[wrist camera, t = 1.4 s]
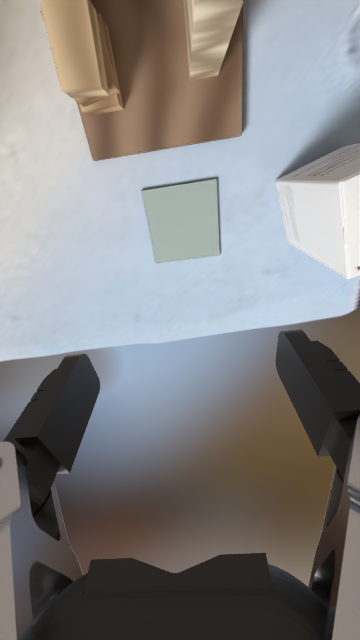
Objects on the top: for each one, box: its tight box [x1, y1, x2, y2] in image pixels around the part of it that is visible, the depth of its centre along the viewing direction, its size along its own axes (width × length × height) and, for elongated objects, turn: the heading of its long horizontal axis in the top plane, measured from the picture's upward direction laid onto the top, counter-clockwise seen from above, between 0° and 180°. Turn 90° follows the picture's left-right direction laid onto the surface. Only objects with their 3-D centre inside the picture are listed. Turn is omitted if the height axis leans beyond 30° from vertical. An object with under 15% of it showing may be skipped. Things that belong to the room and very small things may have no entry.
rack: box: [77, 0, 243, 161], centre depth 17 cm, size 18×14×17 cm
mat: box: [141, 179, 220, 263], centre depth 33 cm, size 10×10×1 cm
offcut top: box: [40, 0, 109, 98], centre depth 19 cm, size 4×5×2 cm
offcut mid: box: [40, 10, 120, 107], centre depth 21 cm, size 4×6×2 cm
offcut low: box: [80, 13, 124, 116], centre depth 23 cm, size 4×6×2 cm, turn 8°
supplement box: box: [275, 143, 360, 279], centre depth 25 cm, size 9×9×15 cm
